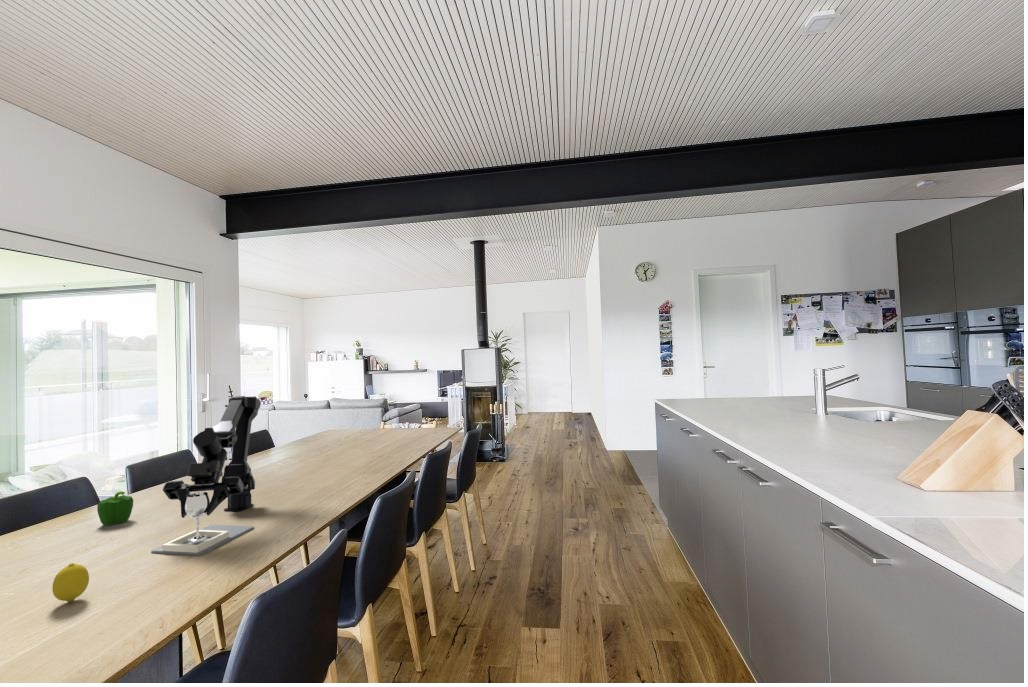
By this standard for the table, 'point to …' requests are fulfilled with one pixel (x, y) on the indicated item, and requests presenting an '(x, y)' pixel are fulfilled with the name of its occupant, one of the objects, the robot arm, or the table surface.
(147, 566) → the table surface
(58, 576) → the lemon
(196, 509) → the wineglass
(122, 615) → the table surface
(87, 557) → the table surface
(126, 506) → the bell pepper
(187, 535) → the square frame board
